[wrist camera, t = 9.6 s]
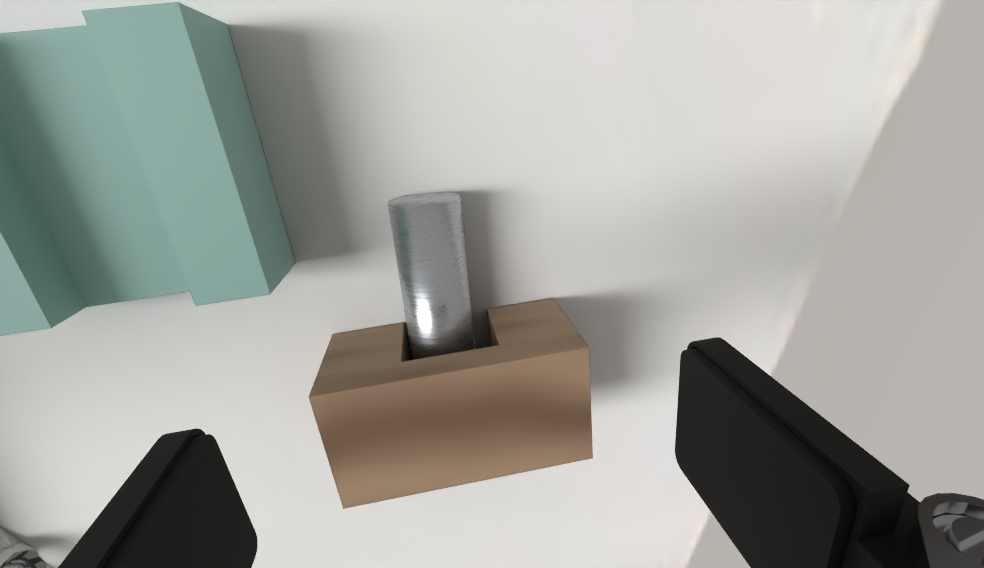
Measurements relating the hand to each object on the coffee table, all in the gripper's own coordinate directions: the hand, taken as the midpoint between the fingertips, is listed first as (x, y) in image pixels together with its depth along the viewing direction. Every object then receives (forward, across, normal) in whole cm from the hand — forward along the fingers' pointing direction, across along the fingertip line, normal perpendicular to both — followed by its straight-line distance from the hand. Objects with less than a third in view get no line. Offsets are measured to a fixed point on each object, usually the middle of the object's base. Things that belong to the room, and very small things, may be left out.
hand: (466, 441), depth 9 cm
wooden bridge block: (+14, 0, +7) cm, 16 cm away
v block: (+14, +12, -5) cm, 20 cm away
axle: (+14, 0, +5) cm, 15 cm away
